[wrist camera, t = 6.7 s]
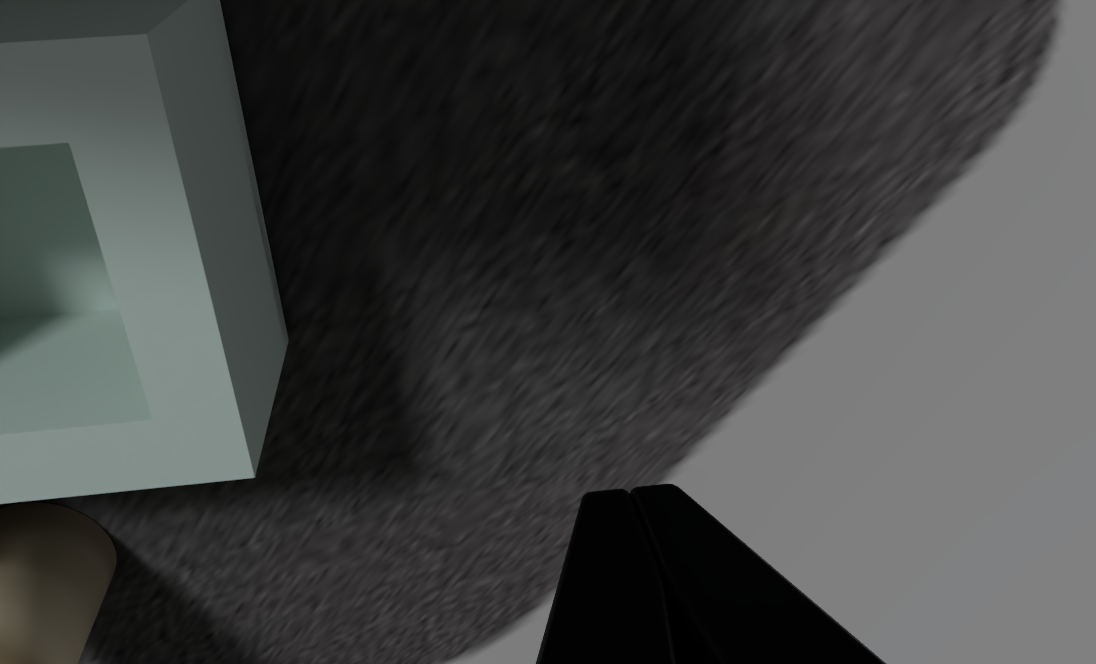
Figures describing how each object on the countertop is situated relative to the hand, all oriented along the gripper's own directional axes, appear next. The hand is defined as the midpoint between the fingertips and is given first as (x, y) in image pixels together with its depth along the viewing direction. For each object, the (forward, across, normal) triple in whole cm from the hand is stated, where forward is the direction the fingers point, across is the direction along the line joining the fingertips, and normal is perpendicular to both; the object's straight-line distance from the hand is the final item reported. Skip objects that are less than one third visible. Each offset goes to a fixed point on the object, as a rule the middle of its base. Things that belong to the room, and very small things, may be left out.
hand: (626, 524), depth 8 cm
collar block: (+10, +8, 0) cm, 14 cm away
